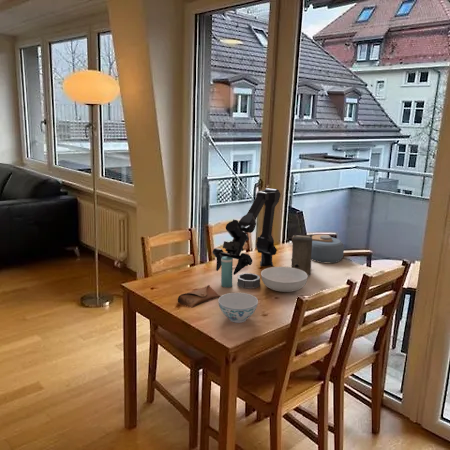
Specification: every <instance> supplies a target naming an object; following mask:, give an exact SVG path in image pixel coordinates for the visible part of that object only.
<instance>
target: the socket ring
mask: <svg viewBox="0 0 450 450" xmlns="http://www.w3.org/2000/svg"><path fill="white" fill-rule="evenodd" d="M260 281H261V275H259V274H256V273H251V272H250V273H248V272H243V273H240V274H238V275H237V283H236V285H237V286H238V287H240V288H241V289H256V288H258V287H260V285H261V284H260Z"/></svg>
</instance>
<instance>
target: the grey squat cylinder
mask: <svg viewBox="0 0 450 450" xmlns="http://www.w3.org/2000/svg"><path fill="white" fill-rule="evenodd" d="M311 236H312V252H311V260H312V259H313V260H312V261H314V260H315V261H314V262H317V261H319V262H318V263H324V262H334V263H338V262H340V261H342V258H344V252H345V251H344V249H345V245H344V242H342V241H341V239H339V238H336V237H332V236H331V235H329V234H315V235H311Z"/></svg>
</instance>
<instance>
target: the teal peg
mask: <svg viewBox="0 0 450 450" xmlns="http://www.w3.org/2000/svg"><path fill="white" fill-rule="evenodd" d="M233 263H234V258H232V257H227V256H226V257H222V258H221V267H220V268H221V269H220V270H221V273H220V276H221V279H220V281H221V283H220V285H221V287H223V288H232V287H233Z"/></svg>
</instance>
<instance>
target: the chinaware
mask: <svg viewBox="0 0 450 450" xmlns="http://www.w3.org/2000/svg"><path fill="white" fill-rule="evenodd" d="M220 296H221V297H218V300H217V301H218V305H219V309H220V310H221V312H222V314H223V315H224V316H226V317H227V318H228V320H229V321H230V322H232V323H234V324H235V323H237V324H238V323H239V324H240V323H245V322H246V321H247V319H249V318H250V317H251V316H252V315H253V314H254V313H255V311H256V310H257V307H258V304H259V300H258V298H257V297H256V296H255V295H252V294H250V293H246V292H229V293H225V294H222V295H220Z"/></svg>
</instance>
